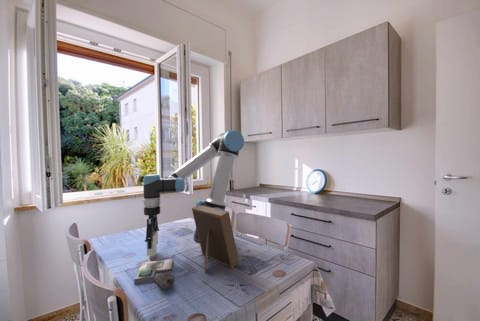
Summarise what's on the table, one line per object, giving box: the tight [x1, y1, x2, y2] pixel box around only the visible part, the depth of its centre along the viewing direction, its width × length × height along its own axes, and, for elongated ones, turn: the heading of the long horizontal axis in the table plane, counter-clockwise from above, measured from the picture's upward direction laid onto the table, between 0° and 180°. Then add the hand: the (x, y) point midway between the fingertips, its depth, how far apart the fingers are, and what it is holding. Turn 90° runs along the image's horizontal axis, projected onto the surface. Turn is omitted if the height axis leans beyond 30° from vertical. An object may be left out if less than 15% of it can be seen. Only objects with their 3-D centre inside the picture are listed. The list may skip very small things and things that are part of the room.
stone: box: [154, 272, 176, 290], centre depth 85 cm, size 10×5×8 cm
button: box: [140, 267, 151, 277], centre depth 90 cm, size 4×4×3 cm
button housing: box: [133, 268, 158, 285], centre depth 90 cm, size 7×7×2 cm
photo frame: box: [191, 205, 240, 274], centre depth 102 cm, size 15×22×25 cm
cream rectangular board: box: [136, 258, 174, 274], centre depth 99 cm, size 14×10×1 cm
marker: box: [148, 231, 158, 259], centre depth 110 cm, size 3×3×12 cm
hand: (152, 249), depth 110 cm, fingers open, 13 cm apart
